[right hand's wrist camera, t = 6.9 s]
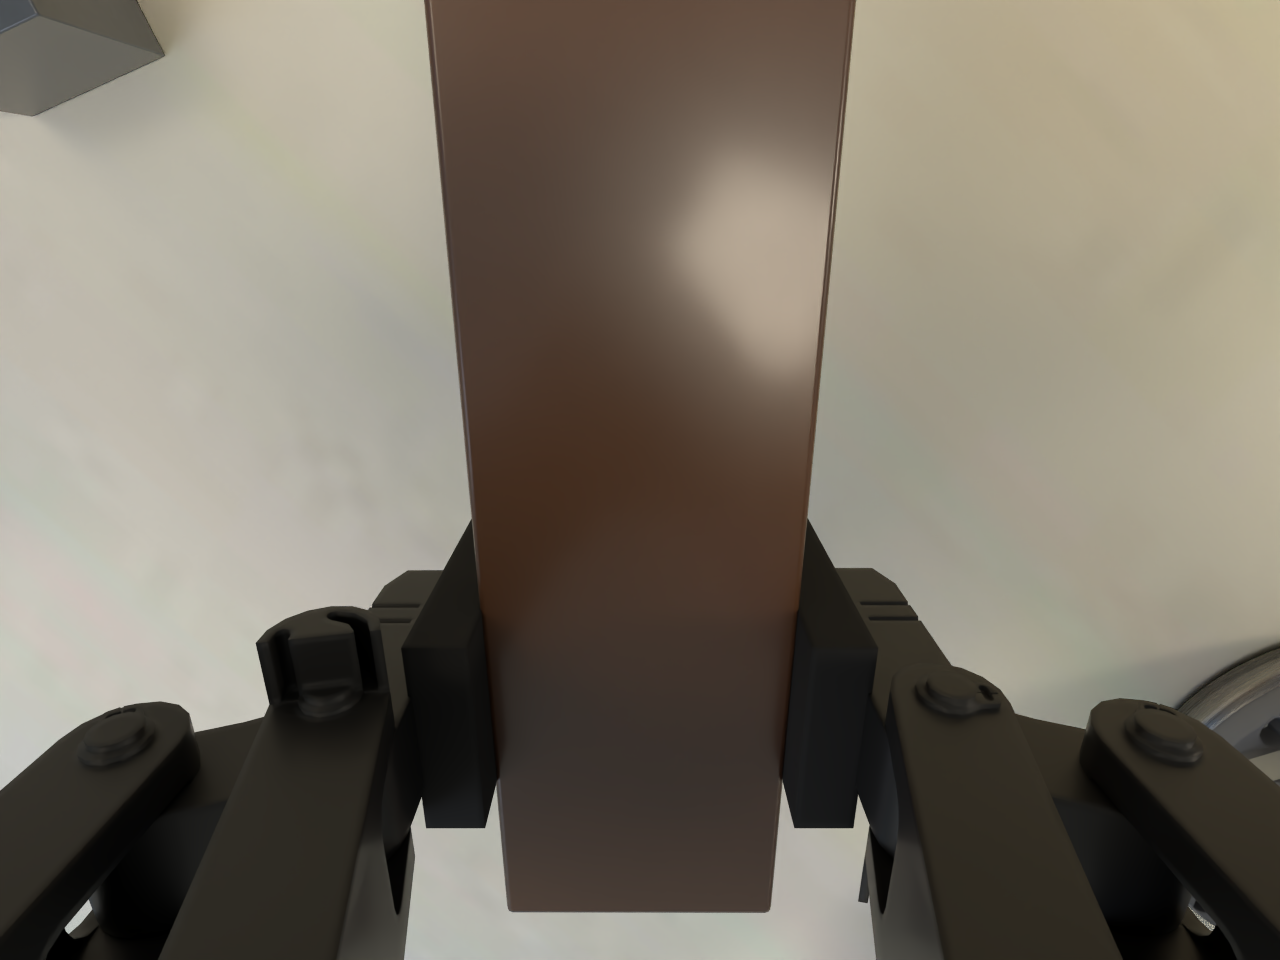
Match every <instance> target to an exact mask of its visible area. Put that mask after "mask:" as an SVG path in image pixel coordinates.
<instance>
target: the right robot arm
mask: <svg viewBox="0 0 1280 960" xmlns="http://www.w3.org/2000/svg"><path fill="white" fill-rule="evenodd" d="M256 646H257V651H258V655H259V660H260V664H261V669H262V673H263V677H264V682H265V686H266V691H267V695H268V700H269V704H270V705H269V707H268V709H267V712H266V714H265V716H264V717H262V718H258V719H254V720H251V721H247V722H243V723H238V724H233V725H228V726H224V727H219V728H214V729H209V730H204V731H199V732H195V733H194V729H193V726H192V722H191V718H190V715H189V713H188V712H187V711H186V710H184V709H183V708H182V707H181V706H180V705H177V704H171V703H166V702H150V703H139V704H133V705H128V706H124V707H123V708H117V709H114V710H111V711H108V712H106V713H104V714H102V715H100V716H98V717H96V718H94V719H92V720H89V721H87V722H85V723H83V724H81V725H80V726H78V727H77V728H75V729H74V730H73V731H71V732H70V733H68V734H67V735H65V736H64V737H62V738H61V739H60V740H58V741H57V742H56V743H55V744H54V745H53V746H51V747H50V748H49V749H48V750H47V751H46V752H44V753H43V754H42V755H41V756H40V757H39V758H38V759H36V760H35V761H34V762H33V763H32V764H31V765H29V766H28V767H27V768H26V769H25V770H24V771H23V772H21V773H20V774H19V775H18V776H17V777H16V778H14V779H13V780H12V781H11V782H10V783H9V784H8V785H6V786H5V787H4V788H3V789H2V790H1V791H0V960H404V953H405V944H406V935H407V926H408V917H409V907H410V898H411V889H412V880H413V871H414V861H415V853H414V846H413V839H412V833H411V824H412V821H413V819H414V816H415V813H416V811H417V808H418V805H419V802H420V800H421V797H422V801H423V808H424V816H425V823H426V828H485V826H486V822H487V818H488V814H489V810H490V806H491V802H492V798H493V794H494V790H495V786H496V782H497V775H496V764H495V753H494V743H493V732H492V721H491V710H490V699H489V689H488V678H487V667H486V656H485V645H484V635H483V624H482V613H481V610H480V603H479V592H478V581H477V570H476V559H475V548H474V538H473V527H472V519H471V521H470V523H469V524H468V526H467V528H466V530H465V532H464V534H463V535H462V537H461V539H460V541H459V543H458V545H457V546H456V548H455V550H454V552H453V554H452V556H451V557H450V559H449V561H448V563H447V565H446V567H445V568H444V570H408V571H406V572H405V573H403V574H402V575H400V576H399V577H397V578H396V579H394V580H393V581H391V582H390V583H388V584H387V585H385V586H384V588H383V589H382V590H381V592H380V593H379V595H378V596H377V598H376V599H375V601H374V602H373V604H372V608H369V610H365V609H361V608H357V607H353V606H331V607H325V608H320V609H315V610H309V611H306V612H303V613H300V614H298V615H295V616H292V617H289V618H287V619H285V620H283V621H281V622H280V623H278V624H276V625H275V626H273V627H272V628H270V629H268V630H267V631H266V632H265V633H264V634H263V635H262V637H261V638H260V639H259V640H258V641H257V642H256ZM782 780H783V784H784V788H785V792H786V796H787V800H788V804H789V808H790V812H791V816H792V820H793V824H794V828H853V826H854V819H855V812H856V805H857V798H858V795H859V798H860V800H861V803H862V806H863V808H864V811H865V814H866V816H867V819H868V822H869V824H870V826H869V833H868V839H867V846H866V853H865V859H864V866H863V873H862V879H861V886H860V893H859V900H858V902H864V903H868V898H869V897H870V906H871V915H872V924H873V933H874V943H875V952H876V960H1280V648H1278V649H1276V650H1273V651H1270V652H1267V653H1265V654H1263V655H1260V656H1258V657H1256V658H1253V659H1251V660H1249V661H1247V662H1245V663H1243V664H1241V665H1239V666H1237V667H1236V668H1234V669H1232V670H1230V671H1229V672H1227V673H1225V674H1224V675H1222V676H1220V677H1219V678H1217V679H1216V680H1214V681H1213V682H1211V683H1210V684H1208V685H1207V686H1206V687H1204V688H1203V689H1201V690H1200V691H1199V692H1198V693H1197V694H1195V695H1194V696H1193V697H1192V698H1190V699H1189V700H1188V701H1187V702H1186V703H1185V704H1184V705H1183V706H1182V707H1180V708H1179V709H1178V710H1175V709H1173V708H1171V707H1168V706H1164V705H1161V704H1160V705H1158V704H1157V703H1154V702H1149V701H1144V700H1133V699H1122V698H1119V699H1113V700H1108V701H1102V702H1100V703H1099V704H1098V705H1097V706H1096V707H1094V708H1093V709H1092V710H1091V712H1090V716H1089V720H1088V723H1087V727H1086V729H1081V728H1076V727H1071V726H1066V725H1061V724H1057V723H1052V722H1047V721H1042V720H1037V719H1033V718H1029V717H1026V716H1022V715H1018V714H1015V713H1014V710H1013V708H1012V706H1011V704H1010V702H1009V701H1008V700H1007V698H1006V697H1005V696H1004V694H1003V693H1002V691H1001V690H1000V689H999V688H997V687H996V686H994V685H993V684H992V683H990V682H989V681H987V680H986V679H985V678H983V677H981V676H979V675H977V674H974V673H972V672H969V671H967V670H965V669H962V668H959V667H954V666H951V664H950V663H949V661H948V660H947V658H946V657H945V655H944V654H943V652H942V651H941V650H940V648H939V647H938V645H937V644H936V642H935V641H934V639H933V638H932V636H931V635H930V634H929V632H928V631H927V629H926V628H925V626H924V625H923V623H922V622H921V621H918V616H917V615H916V613H915V612H914V610H913V609H912V607H911V606H910V605H908V601H907V600H906V599H905V597H904V596H903V594H902V593H901V591H900V590H899V588H898V587H897V585H896V584H895V583H894V582H892V581H891V580H889V579H888V578H886V577H885V576H883V575H882V574H880V573H879V572H877V571H876V570H874V569H873V568H835V567H834V566H833V564H832V562H831V560H830V558H829V556H828V555H827V553H826V551H825V549H824V547H823V545H822V544H821V542H820V540H819V538H818V536H817V534H816V533H815V531H814V529H813V527H812V525H811V523H810V522H809V520H808V518H807V527H806V537H805V548H804V559H803V569H802V580H801V590H800V601H799V609H798V616H797V626H796V637H795V648H794V658H793V669H792V680H791V691H790V701H789V712H788V723H787V734H786V744H785V755H784V766H783V776H782ZM88 899H89V901H90V904H91V906H92V911H91V912H90V913H89V914H88V916H87V917H86V918H85V919H84V920H83V922H82V923H81V924H80V925H79V926H78V927H76V928H75V929H74V930H73V931H72V932H71V933H70V934H68V933H67V932H66V931H65V927H66V925H67V924H68V923H69V922H70V921H71V919H72V918H73V917H74V916H75V915H76V913H77V912H78V911H79V910H80V909H81V908H82V906H83V905H84V904H85V903H86V902H87V900H88ZM1188 906H1189V907H1190V908H1191V909H1192V910H1193V911H1195V912H1196V913H1197V914H1198V915H1200V916H1201V917H1202V918H1204V919H1205V920H1207V921H1208V922H1210V923H1211V924H1213V925H1214V926H1215V929H1214V930H1213V931H1210V930H1209V929H1208V928H1207V927H1206V926H1205V925H1204V924H1203V923H1202V922H1201V921H1199V919H1198V918H1197V917H1196V916H1195V914H1194V913H1193V912H1192V911H1191V910H1190V908H1189V907H1188Z"/></svg>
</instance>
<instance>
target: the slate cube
mask: <svg viewBox="0 0 1280 960" xmlns="http://www.w3.org/2000/svg"><path fill="white" fill-rule="evenodd" d="M163 56H164V53H163V51H162V49H161V47H160V45H159V43H158V41H157V40H156V38H155V36H154V34H153V32H152V30H151V28H150V26H149V24H148V22H147V21H146V19H145V17H144V15H143V13H142V11H141V9H140V7H139V5H138V3H137V1H136V0H0V111H1V112H7V113H14V114H20V115H27V116H34V115H36V114H38V113H41V112H43V111H45V110H47V109H49V108H51V107H54V106H56V105H58V104H60V103H62V102H65V101H67V100H69V99H71V98H73V97H76V96H78V95H80V94H82V93H84V92H86V91H89V90H91V89H93V88H95V87H97V86H100V85H102V84H104V83H106V82H108V81H111V80H113V79H115V78H117V77H119V76H121V75H124V74H126V73H128V72H130V71H132V70H135V69H137V68H139V67H141V66H143V65H146V64H148V63H150V62H152V61H154V60H157V59H159V58H161V57H163Z"/></svg>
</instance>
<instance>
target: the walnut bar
mask: <svg viewBox="0 0 1280 960" xmlns="http://www.w3.org/2000/svg"><path fill="white" fill-rule="evenodd" d="M424 4H425V15H426V26H427V37H428V48H429V59H430V70H431V81H432V91H433V102H434V113H435V124H436V135H437V146H438V157H439V168H440V178H441V189H442V200H443V211H444V222H445V233H446V244H447V255H448V266H449V276H450V287H451V298H452V309H453V320H454V331H455V342H456V353H457V363H458V374H459V385H460V396H461V407H462V418H463V429H464V440H465V451H466V461H467V472H468V483H469V494H470V505H471V516H472V527H473V538H474V548H475V559H476V570H477V581H478V592H479V603H480V610H481V613H482V624H483V635H484V645H485V656H486V667H487V678H488V689H489V699H490V710H491V721H492V732H493V743H494V753H495V764H496V775H497V782H496V788H497V799H498V810H499V820H500V831H501V842H502V853H503V864H504V875H505V886H506V897H507V906H508V909H509V911H511V912H690V913H765V912H768V911H769V910H770V907H771V899H772V888H773V877H774V867H775V856H776V845H777V835H778V824H779V814H780V803H781V792H782V782H783V780H782V776H783V766H784V755H785V744H786V734H787V723H788V712H789V701H790V691H791V680H792V669H793V658H794V648H795V637H796V626H797V616H798V609H799V601H800V590H801V580H802V569H803V559H804V548H805V537H806V527H807V516H808V506H809V495H810V484H811V474H812V463H813V452H814V442H815V431H816V421H817V410H818V399H819V389H820V378H821V367H822V357H823V346H824V336H825V325H826V314H827V304H828V293H829V282H830V272H831V261H832V251H833V240H834V229H835V219H836V208H837V197H838V187H839V176H840V166H841V155H842V144H843V134H844V123H845V112H846V102H847V91H848V81H849V70H850V59H851V49H852V38H853V27H854V17H855V6H856V0H424Z"/></svg>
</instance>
